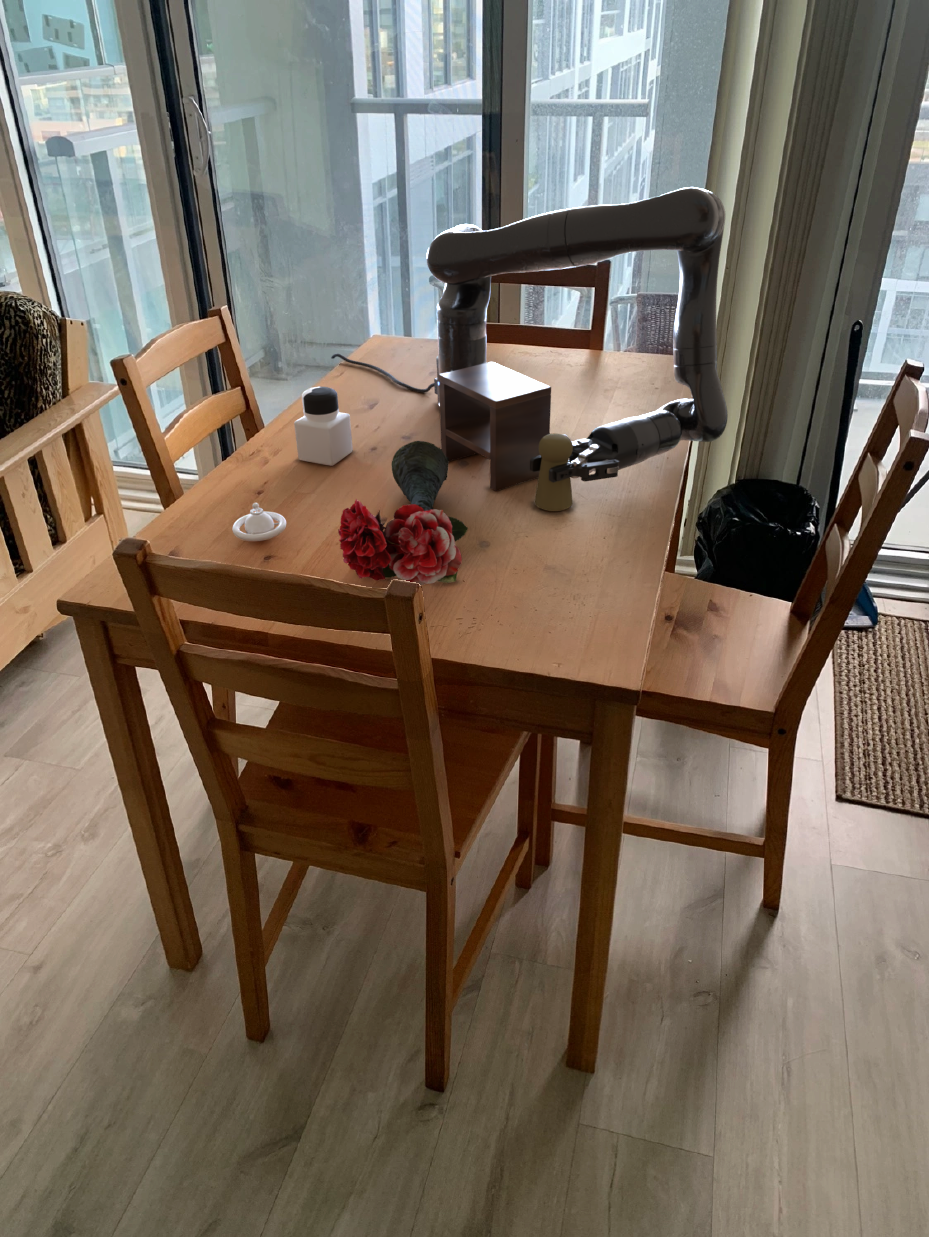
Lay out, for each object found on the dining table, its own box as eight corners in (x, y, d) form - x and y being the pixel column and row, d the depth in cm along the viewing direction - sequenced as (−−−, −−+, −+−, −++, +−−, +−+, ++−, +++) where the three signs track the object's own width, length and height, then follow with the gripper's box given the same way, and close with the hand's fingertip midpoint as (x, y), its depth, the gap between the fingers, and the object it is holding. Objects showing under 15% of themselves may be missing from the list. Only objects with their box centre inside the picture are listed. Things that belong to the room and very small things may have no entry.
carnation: (414, 536, 156) (420, 646, 126) (323, 471, 149) (306, 571, 119) (474, 466, 151) (496, 563, 120) (383, 395, 144) (382, 480, 114)
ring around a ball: (298, 536, 140) (269, 518, 145) (293, 502, 137) (263, 485, 142) (253, 556, 136) (224, 537, 141) (246, 521, 133) (217, 503, 138)
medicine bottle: (353, 451, 167) (347, 386, 160) (332, 467, 162) (325, 400, 155) (319, 445, 170) (312, 381, 163) (297, 460, 164) (289, 394, 158)
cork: (531, 494, 150) (533, 430, 144) (569, 492, 151) (572, 428, 144) (537, 512, 145) (539, 446, 139) (575, 509, 146) (579, 443, 139)
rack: (441, 459, 164) (438, 374, 155) (492, 444, 169) (492, 361, 160) (495, 491, 152) (496, 401, 144) (548, 474, 158) (551, 386, 149)
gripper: (595, 408, 154) (512, 433, 146) (657, 435, 144) (572, 463, 136) (593, 450, 158) (512, 477, 150) (652, 480, 148) (569, 510, 140)
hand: (541, 470), depth 143 cm, fingers closed on cork, 4 cm apart
